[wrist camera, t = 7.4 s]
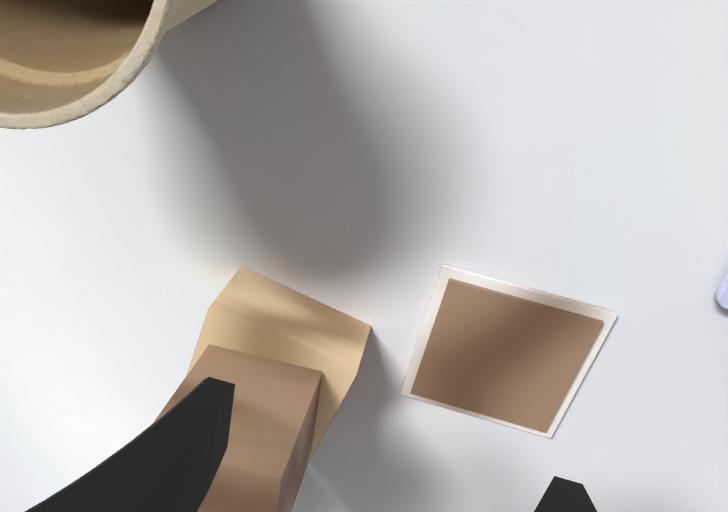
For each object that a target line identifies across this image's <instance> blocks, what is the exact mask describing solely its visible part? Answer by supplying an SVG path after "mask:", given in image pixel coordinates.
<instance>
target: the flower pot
mask: <svg viewBox="0 0 728 512" xmlns="http://www.w3.org/2000/svg"><path fill="white" fill-rule="evenodd" d="M218 1H219V0H0V128H8V129H28V128H31V129H36V128H46V127H53V126H57V125H61V124H64V123H67V122H70V121H73V120H76V119H79V118H82V117H84V116H86V115H88V114H90V113H92V112H94V111H95V110H97V109H98V108H100V107H102V106H103V105H105V104H106V103H108V102H110V101H111V100H112V99H114V98H115V97H116V96H117V95H118V94H120V93H121V92H122V91H123V90H124V89H126V88H127V87H128V86H129V85H130V84H131V83H132V82H133V81H134V80H135V79H136V77H137V76H138V75H139V74H140V72H141V71H142V70H143V69H144V67H145V66H146V65H147V64H148V62H149V61H150V59H151V58H152V56H153V55H154V53H155V51H156V50H157V48H158V46H159V44H160V42H161V40H162V38H163V36H164V34H165V33H167V32H168V31H170V30H171V29H173V28H175V27H176V26H178V25H179V24H181V23H183V22H184V21H186V20H187V19H189V18H190V17H192V16H194V15H195V14H197V13H199V12H200V11H202V10H203V9H205V8H207V7H209V6H211V5H213V4H215V3H216V2H218Z"/></svg>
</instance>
